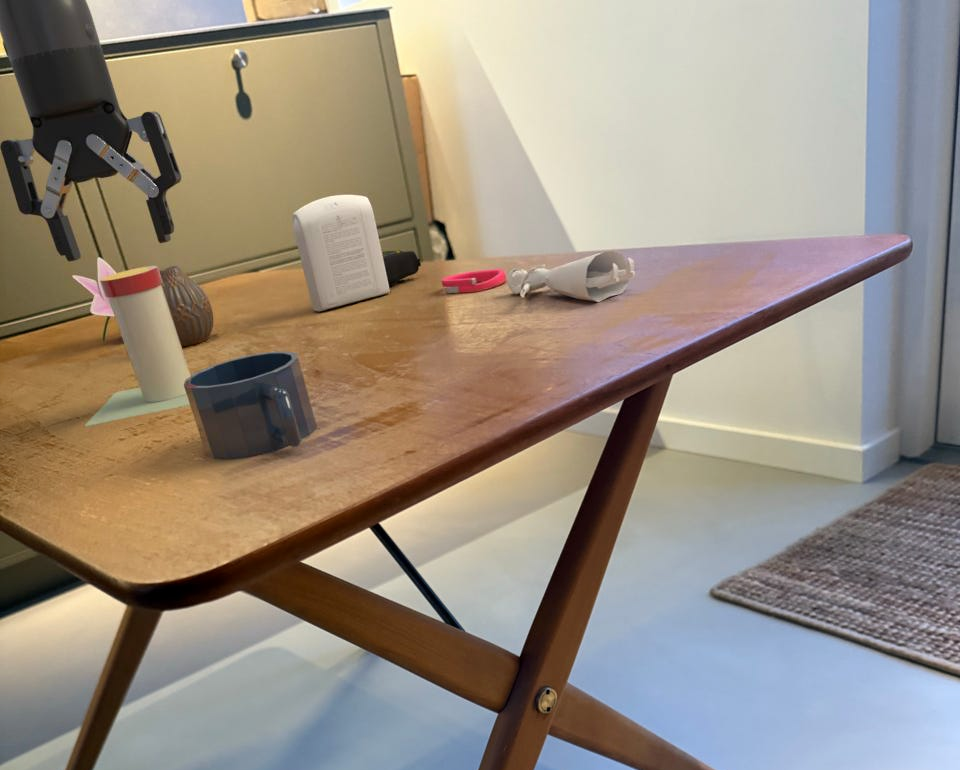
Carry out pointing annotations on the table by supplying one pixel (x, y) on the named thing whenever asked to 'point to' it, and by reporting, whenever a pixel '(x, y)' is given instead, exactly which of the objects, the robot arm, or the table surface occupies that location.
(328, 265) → the white rounded block
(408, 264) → the tape measure
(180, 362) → the jar
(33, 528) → the table surface
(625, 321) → the table surface
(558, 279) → the woman figurine
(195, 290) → the vase
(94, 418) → the sticky note
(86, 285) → the lily
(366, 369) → the table surface
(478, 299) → the table surface
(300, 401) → the mug
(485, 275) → the fitness band
